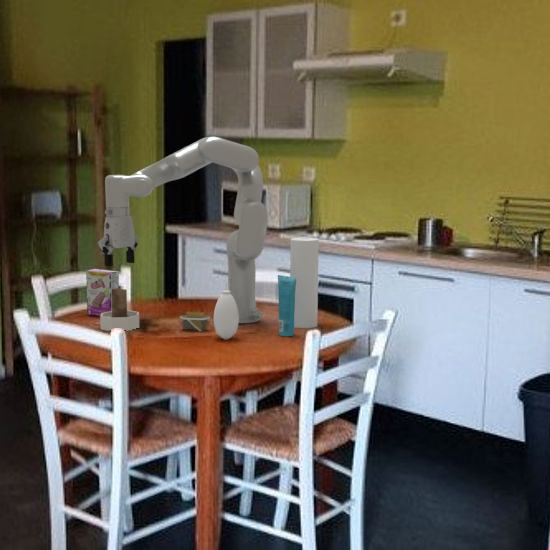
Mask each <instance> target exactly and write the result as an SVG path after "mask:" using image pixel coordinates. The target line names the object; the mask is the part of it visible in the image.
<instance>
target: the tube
mask: <svg viewBox="0 0 550 550" xmlns="http://www.w3.org/2000/svg"><path fill="white" fill-rule="evenodd" d="M296 278H297V277H290V276H287V275H282V274H280V275H279V274H278V275H277V285H278V286H277V287H278V335H279V336H280V337H293V336H294V335H295V327H294V313H295V289H296Z"/></svg>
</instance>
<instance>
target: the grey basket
mask: <svg viewBox="0 0 550 550" xmlns="http://www.w3.org/2000/svg"><path fill="white" fill-rule="evenodd" d="M179 319H182V330H183V329H193V330H192V331H198V332H203V331H202V330H207V328H208V327H207V326H208V324H207V323H208V320H209V319H211V316H209V315H205V312H204V311H203V312H202V311H193V312H192V311H186V313H185V314H183V315H179ZM207 331H208V330H207Z"/></svg>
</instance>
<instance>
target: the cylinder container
mask: <svg viewBox="0 0 550 550" xmlns="http://www.w3.org/2000/svg"><path fill="white" fill-rule="evenodd" d="M319 244H320V243H319V238H316V237H315V238H314V237H306V236H303V237H295V238H293V237H292V238H290V260H289V261H290V265H289V266H290V267H289V268H290V271H289V273H290V275H289V277H297V278H296V289H295V313H294V329H295V328H296V329H312V328H317V327H318V308H319V307H318V306H319V305H318V304H319V297H318V296H319V294H318V293H319V292H318V291H319V247H320V246H319Z"/></svg>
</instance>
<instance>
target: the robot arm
mask: <svg viewBox="0 0 550 550" xmlns="http://www.w3.org/2000/svg"><path fill="white" fill-rule="evenodd" d="M259 160H260V157H259V154H258V152H257V151H256V150H255V149H254V148H252V147H251V146H248V145H244V144H241V143H238V142H236V141H235V142H234V141H232V140H228V139H225V138H221V137H219V136H214V135H213V136H206V137H203V138H201V139H198V140H197V141H195V142H193V143H191V144H189V145H187V146H184V147H183V148H181V149H179V150H177V151H175V152H173V153H172V154H169V155H168V156H165V157H164V158H162V159H160V160H158V161H157V162H154V163H152V164H150V165H148V166H146V167H144V168H142V169H140V170H138V171H136V172H134V173H133V174H131V175H125V174H108V175H107V176H106V177H105V178H104V179H105V180H104V185H105V186H104V189H105V211H104V214H105V215H106V217H105V220H104V228H103V229H104V230H103V237H102V238H100V240H98V241H97V245H98V246H99V250H100V251H101V253H102V254H103V257H104V266H105V267H110V268H112V267H114V259H113V254H112V253H113V251H114V249H121V248H122V249H123V248H126V251H125V252H126V253H125V255H126V256H125V257H126V263H127V264H128V263H129V264H134V263H135V252H136V250H137V246H138V243H139V240H140V237H139V236H138V235H136V234H135V227H134V221H133V217H132V216H131V215H130V211H131V209H130V197H136V198H137V197H138V198H144V197H147V196H149V195H151V194H152V192H153V190H154V189H155V188H157V187H159V186H161V185H163V184H166V183H169V182H171V181H176V180H179V179H182V178H185V177H187V176H189V175H191V174H193V173H195V172H196V171H198V170H199V169H202V168H204V167H206V166H208V165H210V164H211V163H214V164H217V165H220V166H224V167H227V168H230V169H231V170H233V171H234V172H235V174H236V176H237V180H238V181H237V182H238V183H237V195H236V199H235V205H234V212H233V217H234V220H235V221H236V223H238V225H239V226H238V229H237V230H235V231H232V232H231V233H230V235H228V237H227V241H226V246H225V247H226V256H227V290H229V291H230V294H231V295H232V296H233V298H234V300H235V302H236V305H237V308H238V314H239V323H238V324H251V323H257V322H259V321H260V319H263V316H264V312H263V311H259V308H258V307H256V259H257V258H259V257H260V256H261V254H262V252H263V250H264V246H265V239H266V235H267V228H268V221H269V214H268V213H269V212H268V209H267V207H266V205H265V204H264V203H263V202H262V197H263V189H264V177H263V173H262V169H261V167H260V166H259V162H260V161H259Z"/></svg>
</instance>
